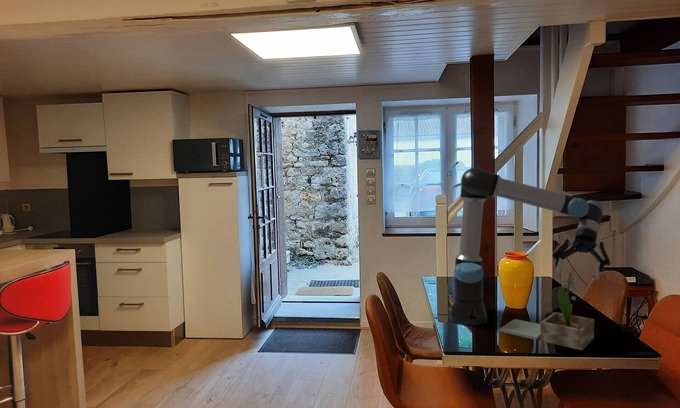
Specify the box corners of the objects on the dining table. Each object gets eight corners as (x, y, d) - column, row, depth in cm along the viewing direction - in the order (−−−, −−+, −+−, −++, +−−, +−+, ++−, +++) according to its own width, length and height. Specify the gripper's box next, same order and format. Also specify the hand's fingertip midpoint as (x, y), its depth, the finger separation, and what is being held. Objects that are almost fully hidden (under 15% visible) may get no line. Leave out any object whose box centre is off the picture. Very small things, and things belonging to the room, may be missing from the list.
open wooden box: (540, 340, 161) (540, 322, 161) (554, 329, 173) (554, 312, 173) (582, 350, 152) (582, 330, 152) (593, 337, 164) (594, 319, 163)
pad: (499, 331, 172) (499, 328, 172) (514, 321, 184) (514, 318, 184) (536, 339, 162) (536, 337, 162) (549, 328, 174) (550, 326, 174)
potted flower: (556, 332, 170) (557, 268, 169) (585, 337, 164) (587, 271, 163) (548, 341, 161) (549, 273, 160) (579, 347, 155) (580, 277, 153)
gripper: (623, 241, 173) (615, 286, 163) (556, 236, 190) (544, 276, 180) (621, 229, 169) (612, 274, 159) (552, 225, 186) (540, 266, 175)
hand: (576, 275), depth 169 cm, fingers open, 13 cm apart
